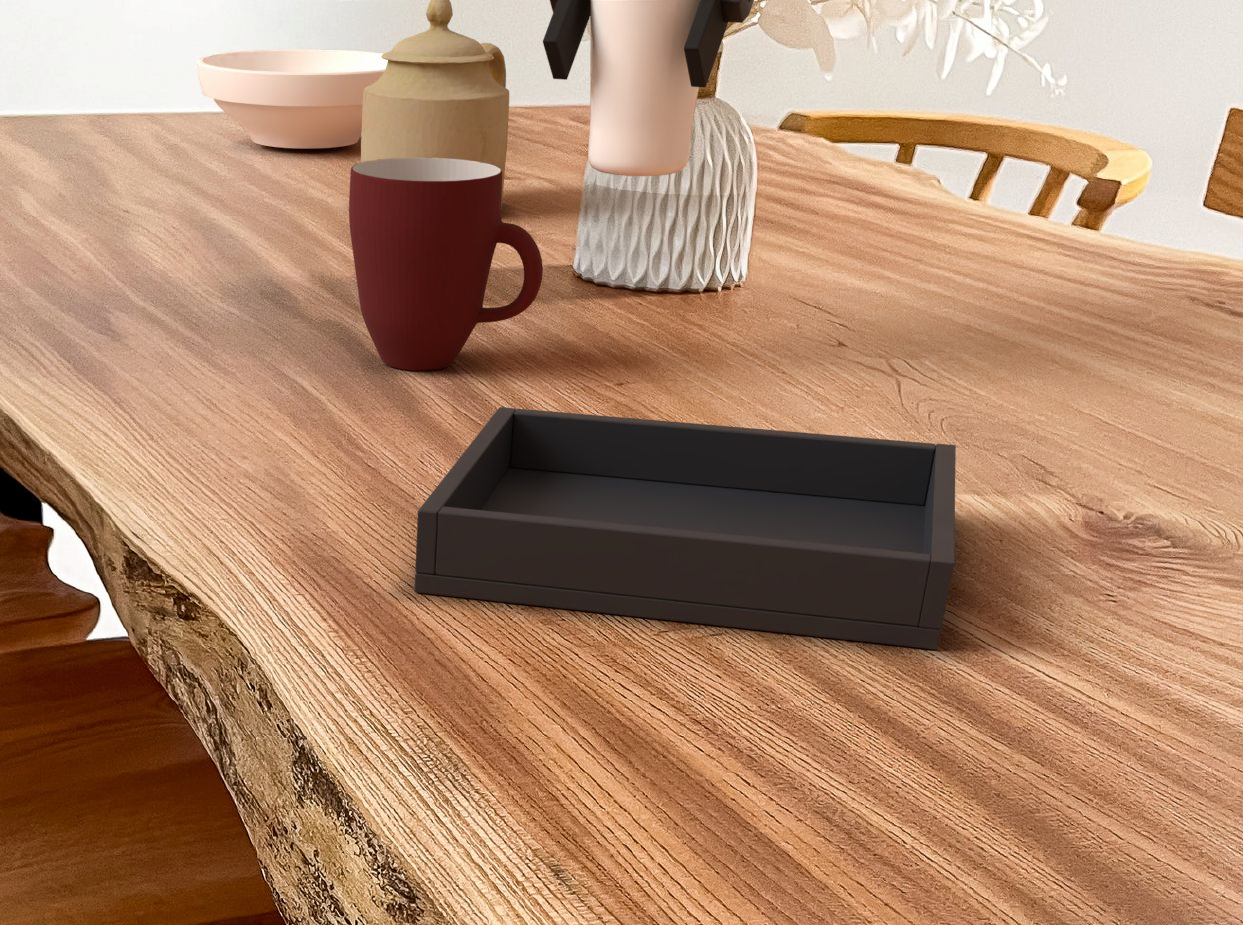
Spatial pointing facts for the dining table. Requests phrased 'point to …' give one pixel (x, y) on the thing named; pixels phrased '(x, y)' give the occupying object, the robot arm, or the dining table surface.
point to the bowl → (293, 93)
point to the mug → (431, 255)
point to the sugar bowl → (438, 98)
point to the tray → (698, 525)
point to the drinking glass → (640, 86)
